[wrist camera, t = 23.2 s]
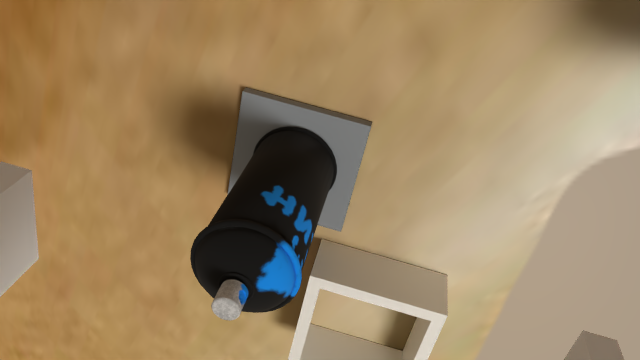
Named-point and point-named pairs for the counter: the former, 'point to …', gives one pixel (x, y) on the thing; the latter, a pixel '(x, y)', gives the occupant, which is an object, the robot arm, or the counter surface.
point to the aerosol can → (265, 224)
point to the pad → (332, 127)
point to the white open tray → (376, 288)
